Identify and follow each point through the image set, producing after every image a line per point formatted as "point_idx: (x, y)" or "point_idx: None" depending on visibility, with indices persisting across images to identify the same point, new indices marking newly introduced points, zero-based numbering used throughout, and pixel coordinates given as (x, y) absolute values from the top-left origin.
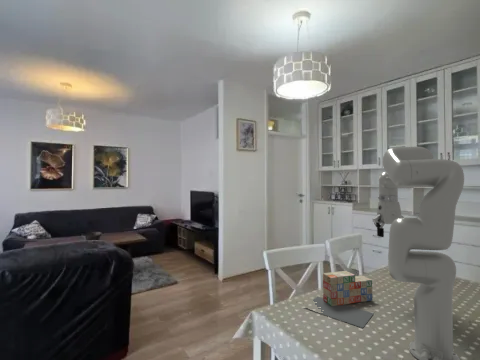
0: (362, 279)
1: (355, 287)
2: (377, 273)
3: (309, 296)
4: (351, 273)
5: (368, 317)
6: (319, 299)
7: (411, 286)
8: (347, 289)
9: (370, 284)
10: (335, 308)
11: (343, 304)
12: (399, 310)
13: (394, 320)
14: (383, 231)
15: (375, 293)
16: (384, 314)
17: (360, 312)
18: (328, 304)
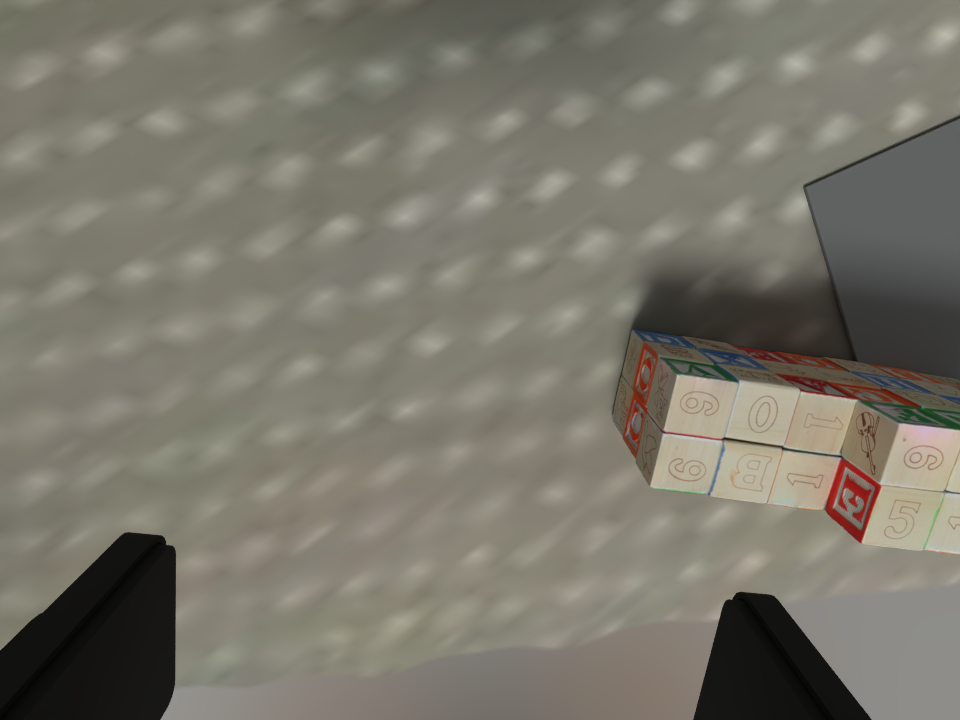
0: (748, 414)
1: (829, 383)
2: None
3: None
4: (890, 466)
5: (891, 160)
6: None
7: (113, 378)
8: (901, 390)
9: (678, 366)
10: (957, 346)
11: None
12: (598, 142)
13: (769, 59)
14: (830, 705)
15: (496, 405)
16: (746, 149)
17: (871, 233)
18: None
